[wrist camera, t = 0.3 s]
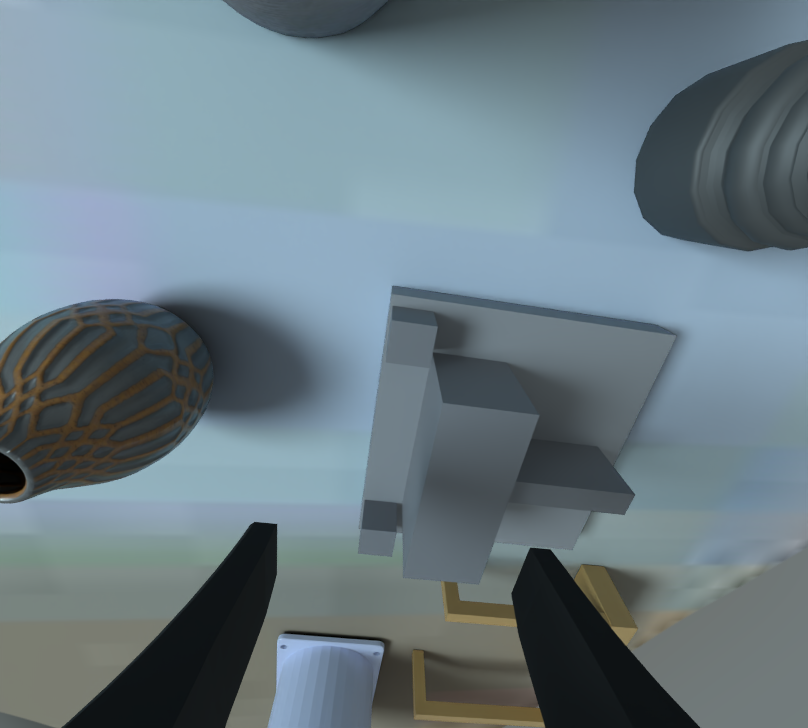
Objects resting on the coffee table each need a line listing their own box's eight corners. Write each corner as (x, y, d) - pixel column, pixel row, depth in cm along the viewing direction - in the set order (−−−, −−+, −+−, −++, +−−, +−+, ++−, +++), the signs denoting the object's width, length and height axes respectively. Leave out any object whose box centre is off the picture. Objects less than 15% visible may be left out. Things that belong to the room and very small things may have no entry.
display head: (656, 325, 18) (765, 382, 13) (562, 529, 24) (610, 628, 19) (392, 285, 17) (389, 329, 12) (361, 509, 23) (349, 607, 18)
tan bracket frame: (604, 566, 26) (638, 628, 22) (549, 665, 31) (569, 729, 27) (440, 550, 25) (448, 612, 21) (411, 655, 30) (413, 719, 26)
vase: (78, 269, 17) (-207, 340, 9) (235, 299, 18) (99, 389, 10) (98, 400, 20) (-104, 541, 12) (233, 421, 20) (127, 569, 12)
